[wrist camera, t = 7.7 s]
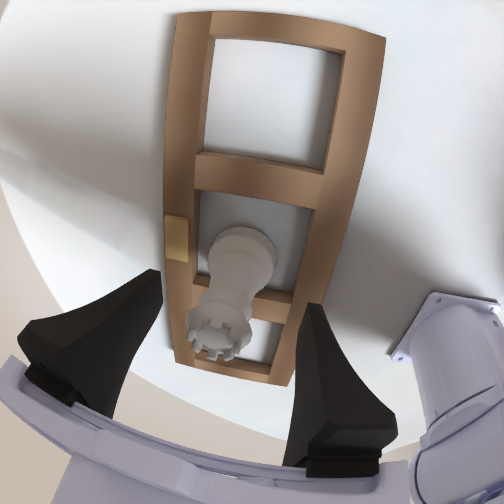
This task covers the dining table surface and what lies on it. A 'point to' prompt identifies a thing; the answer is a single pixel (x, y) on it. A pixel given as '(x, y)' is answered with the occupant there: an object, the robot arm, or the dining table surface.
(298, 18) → the brown wooden flat frame
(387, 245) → the dining table surface
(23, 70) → the dining table surface
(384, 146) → the dining table surface
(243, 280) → the rook chess piece
